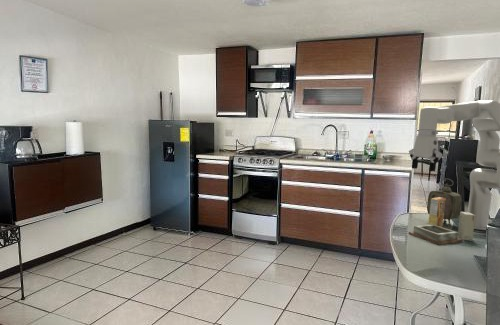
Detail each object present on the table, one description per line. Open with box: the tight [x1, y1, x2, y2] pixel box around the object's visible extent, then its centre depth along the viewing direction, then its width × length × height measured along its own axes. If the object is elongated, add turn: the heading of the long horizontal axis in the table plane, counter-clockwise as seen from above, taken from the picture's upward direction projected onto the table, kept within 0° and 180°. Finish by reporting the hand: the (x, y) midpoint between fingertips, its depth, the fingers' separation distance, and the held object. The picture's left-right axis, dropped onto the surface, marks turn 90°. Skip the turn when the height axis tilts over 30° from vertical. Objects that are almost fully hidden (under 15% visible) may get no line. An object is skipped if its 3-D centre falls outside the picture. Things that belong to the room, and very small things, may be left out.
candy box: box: [427, 197, 446, 227], centre depth 177 cm, size 9×4×15 cm, turn 129°
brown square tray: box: [408, 224, 464, 246], centre depth 159 cm, size 16×16×4 cm
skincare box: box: [457, 211, 475, 241], centre depth 160 cm, size 6×4×12 cm
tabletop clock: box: [426, 177, 463, 227], centre depth 184 cm, size 14×9×25 cm, turn 28°
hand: (423, 169), depth 161 cm, fingers open, 9 cm apart
